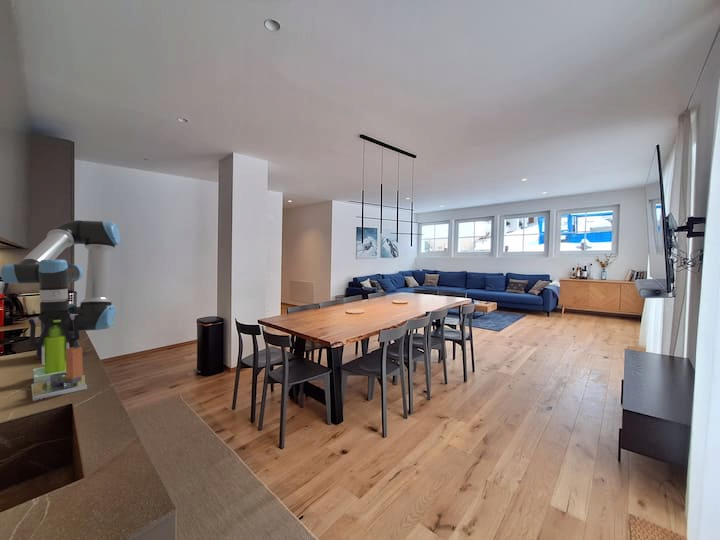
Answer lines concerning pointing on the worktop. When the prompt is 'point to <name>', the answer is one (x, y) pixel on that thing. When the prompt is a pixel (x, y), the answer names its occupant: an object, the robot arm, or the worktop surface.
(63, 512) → the worktop surface
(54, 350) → the soap dispenser
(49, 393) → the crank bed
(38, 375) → the tray
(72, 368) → the crank
